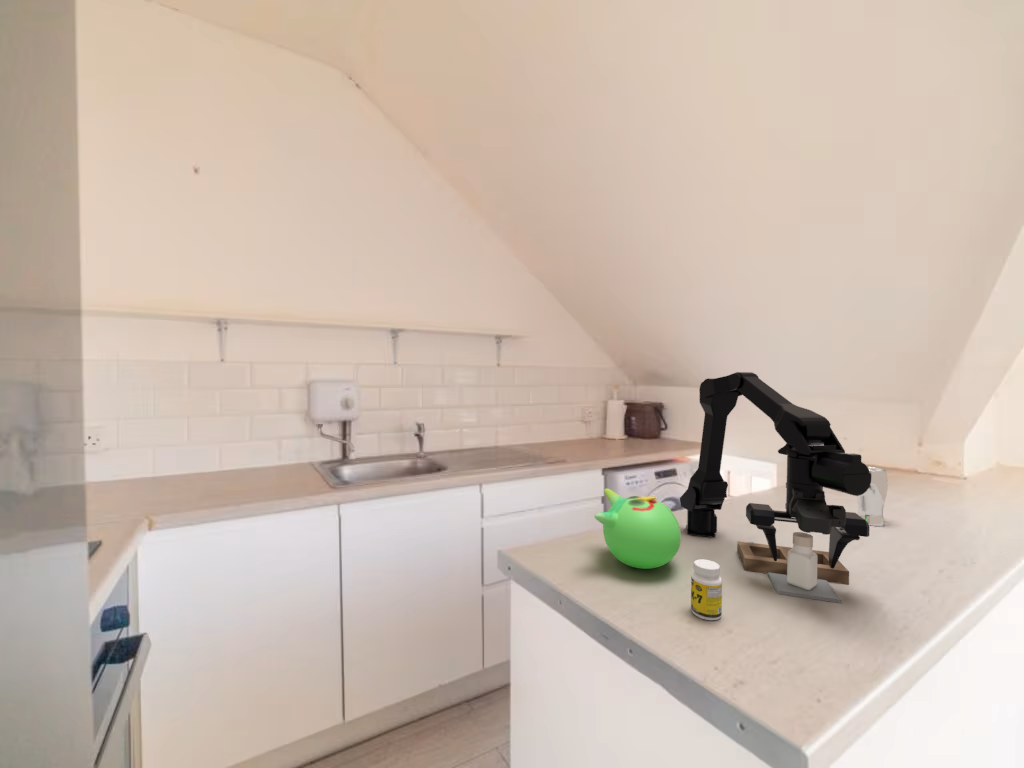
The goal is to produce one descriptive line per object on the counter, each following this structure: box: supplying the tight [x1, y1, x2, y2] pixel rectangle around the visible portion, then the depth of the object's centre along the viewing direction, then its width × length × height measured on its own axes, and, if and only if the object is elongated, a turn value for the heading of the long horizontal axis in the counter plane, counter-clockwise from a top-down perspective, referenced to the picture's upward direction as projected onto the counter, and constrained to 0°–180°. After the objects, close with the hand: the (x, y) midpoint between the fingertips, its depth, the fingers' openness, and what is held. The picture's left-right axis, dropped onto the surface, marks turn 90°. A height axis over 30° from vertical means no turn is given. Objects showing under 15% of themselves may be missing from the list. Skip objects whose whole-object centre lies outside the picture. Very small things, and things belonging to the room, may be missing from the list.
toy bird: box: [594, 488, 682, 570], centre depth 94 cm, size 18×17×15 cm
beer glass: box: [856, 466, 889, 527], centre depth 122 cm, size 7×7×15 cm
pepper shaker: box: [787, 531, 818, 590], centre depth 84 cm, size 4×4×10 cm
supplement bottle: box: [690, 558, 723, 621], centre depth 74 cm, size 5×5×8 cm
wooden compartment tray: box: [736, 540, 850, 585], centre depth 93 cm, size 18×10×2 cm, turn 71°
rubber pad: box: [767, 572, 843, 604], centre depth 84 cm, size 10×8×1 cm
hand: (802, 564), depth 84 cm, fingers open, 9 cm apart
